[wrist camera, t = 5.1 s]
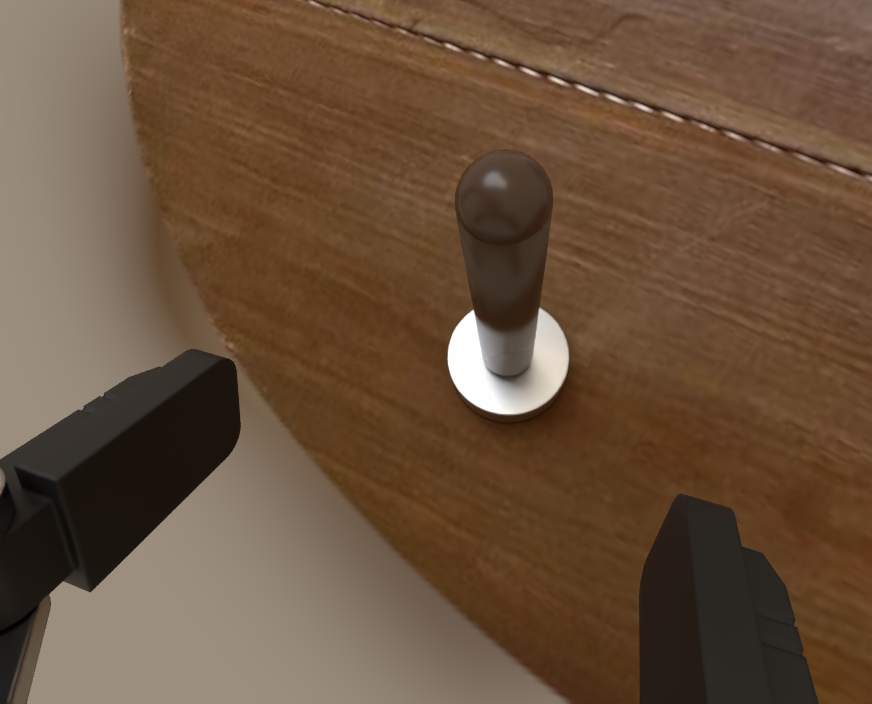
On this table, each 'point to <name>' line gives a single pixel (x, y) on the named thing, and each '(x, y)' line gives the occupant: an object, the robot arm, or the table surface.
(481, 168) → the espresso tamper
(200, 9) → the table surface
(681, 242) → the table surface
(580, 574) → the table surface
